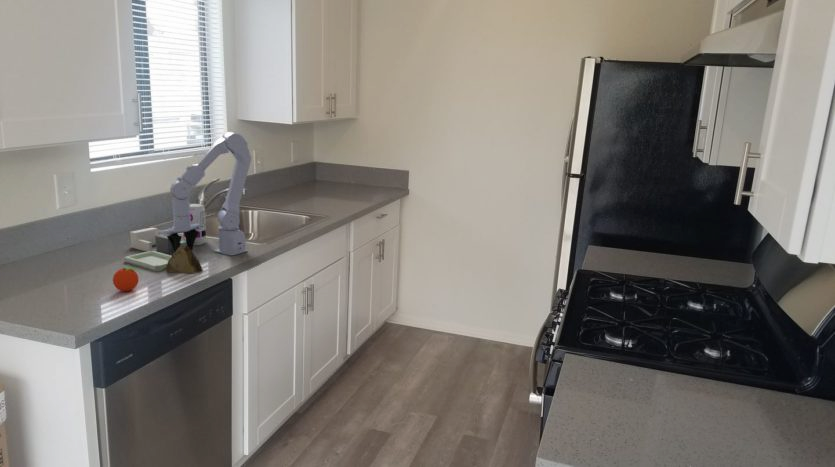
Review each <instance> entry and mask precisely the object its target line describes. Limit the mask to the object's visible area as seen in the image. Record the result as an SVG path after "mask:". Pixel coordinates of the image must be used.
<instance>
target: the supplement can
mask: <svg viewBox="0 0 835 467" xmlns="http://www.w3.org/2000/svg"><path fill="white" fill-rule="evenodd" d="M190 220H191V224H196V223H198V224H201V229H199V230H198V229H197V230H196V231H198V235H197V237H196V239H195V242H194V246H201V245H204V244H205V243H206V242H207V226H206V224H207V223H206V208H205V207H204V205H203V204H202V203H190ZM183 241H185V242H186V237H185V234H184V232H183Z"/></svg>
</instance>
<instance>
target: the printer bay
mask: <svg viewBox="0 0 835 467" xmlns="http://www.w3.org/2000/svg"><path fill="white" fill-rule="evenodd" d="M129 233H130V247H131V249H132V248H133V249H135V250H140V251H143V252H148V251H153V246H156V239H155V236H156V235H159V228H157V227H148V228H143V229H138V230H133V231H130V232H129Z"/></svg>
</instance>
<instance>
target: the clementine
mask: <svg viewBox="0 0 835 467" xmlns="http://www.w3.org/2000/svg"><path fill="white" fill-rule="evenodd" d="M136 271H137V272H140V274H142V272H141V271H140V270H138V269H137V268H133V267H124V268H120V269H117V271H116V272H115V273H114V274H113V276H112V283H113V285H114V287H115V288H116V289H117V290H119V291H121V292H130V291H132V290H134V289H135V288H136V287H137V286H138V283H139V275H138V273H137V272H136Z"/></svg>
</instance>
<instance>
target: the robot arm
mask: <svg viewBox="0 0 835 467" xmlns="http://www.w3.org/2000/svg"><path fill="white" fill-rule="evenodd" d="M228 153H231V154H232V157H233V158H234V159H235V161H234V162H235V163H234V166H233V171H232V174H231V178H230V182H229V185H228V186H229V187H228V188H227V189H228V190H227V192H226V193H227V194H226V198H225V201H224V202H223V204H222V207H221V208H220V210H219V211H218V212H217V215H216V216H217V217H216V218H217V219H216V220H217V221H218V222H219V223H220V224H219V225H218V227H217V228H218V248H216V249H214V250H213V251H214V252H216V253H219V254H224V255H227V256H235V255H240V254H243V253H245V252H246V251H247V252H248V249H247V248H246V234H245V232H244V231H243V230H240V227H239V225H240V222H241V221H240V212H241V211H240V203H241V199H242V196H243V193H244V192H243V191H244V188H245V183H246V180H247V176H248V173H249V169H250V166H251V161H252V155H251V152H250V150H249V147H248V142H247V141H246V139H245V138H244V137H243V135H242V134H240V133H236V132H235V131H234V132H233V131H226V132H225V133H223V135H222V136H221V137H219V138H218V139H216V141H215V142H214V143H213V145H212V146H211V147H210V149H209V150H207V152H206V153H205V154H204V155H203V157H201V159H200V160H199V161H198V163H197V164H196V163H195V164H190V166H189V165H187V166H186V167H185V171H184V172H183V173H182V175H181V176H178V177H177V178H176V180H177V181H176V180H175V181H174V182H172V184H171V185H170V188H169V191H170V193H171V194H172V203H171V204H172V220H173V221H172V222H173V223H172V224H173V225H172V227H169V228H167V229H163V230H162V234H163V236H167V238H168V239H169V241H170V242H171V244H172V247H173V249H174V253H175V252H176V250H177V249H178V247H180V241H182V236H181V235H179V234H181V233H183V232H184V234H185V237H186V242H187V246H188V247H189V248H190V249H191V250H192V251H193V250H194V246H195V245H194V242H195V239H196V237H197V235H198V231H196V230H197V229H198V230H199V229H201V224H198V223H196V224H191V220H190V204H191V203H190V196H191V193H192V190H193V189H194V188H195V187H196V186H197V184H198V183H200V182H201V181H202V179H203V178H204V177H205V176H206V172H205V171H206V169H208V168H209V167H210V165H212V163H214V161H215V160H216V159H217V158H219V156H220V155H221V156H222V155H225V154H228Z"/></svg>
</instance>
